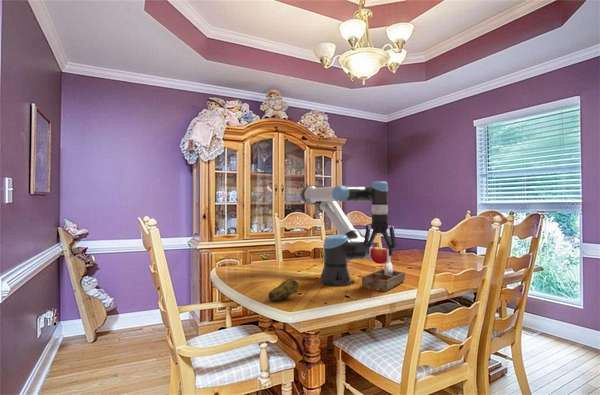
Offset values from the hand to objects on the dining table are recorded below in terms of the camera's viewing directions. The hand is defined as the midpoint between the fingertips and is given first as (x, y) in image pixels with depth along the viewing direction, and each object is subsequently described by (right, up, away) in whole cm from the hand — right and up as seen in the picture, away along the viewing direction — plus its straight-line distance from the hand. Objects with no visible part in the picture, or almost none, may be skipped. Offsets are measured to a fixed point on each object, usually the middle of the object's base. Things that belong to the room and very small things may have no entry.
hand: (379, 261), depth 154 cm
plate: (+7, -11, +9) cm, 16 cm away
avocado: (-45, -12, -21) cm, 51 cm away
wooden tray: (+3, -12, +4) cm, 13 cm away
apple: (0, -1, 0) cm, 1 cm away
